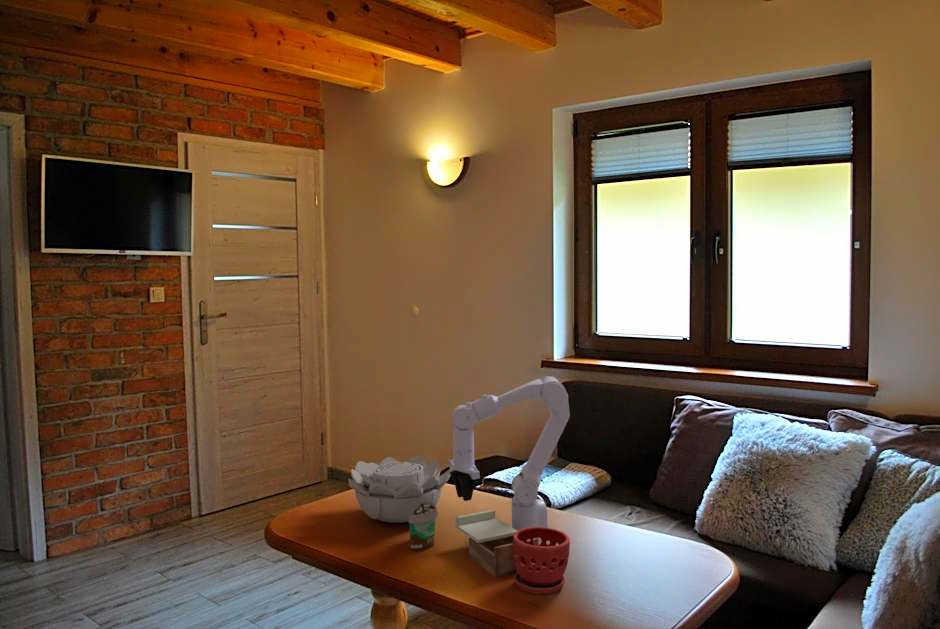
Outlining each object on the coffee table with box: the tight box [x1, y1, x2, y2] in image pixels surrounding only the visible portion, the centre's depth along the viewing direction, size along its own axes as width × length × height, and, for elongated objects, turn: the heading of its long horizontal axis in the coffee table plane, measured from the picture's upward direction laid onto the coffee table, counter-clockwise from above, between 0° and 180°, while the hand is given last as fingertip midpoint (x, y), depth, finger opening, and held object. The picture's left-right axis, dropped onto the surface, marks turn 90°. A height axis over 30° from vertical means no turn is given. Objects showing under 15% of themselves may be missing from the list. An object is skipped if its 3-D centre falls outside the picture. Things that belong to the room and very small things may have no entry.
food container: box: [408, 501, 439, 552], centre depth 198 cm, size 12×6×10 cm, turn 168°
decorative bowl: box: [348, 454, 452, 524], centre depth 219 cm, size 30×30×15 cm
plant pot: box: [513, 527, 571, 595], centre depth 172 cm, size 13×13×12 cm
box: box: [468, 536, 539, 578], centre depth 186 cm, size 12×14×7 cm
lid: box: [454, 509, 517, 543], centre depth 193 cm, size 12×13×3 cm
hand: (464, 498), depth 204 cm, fingers open, 3 cm apart
